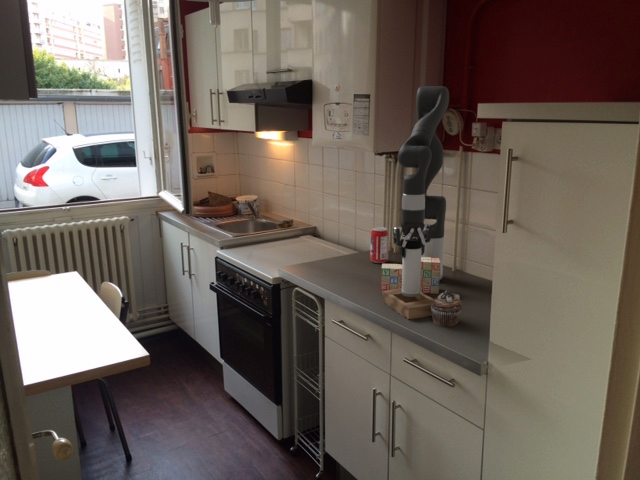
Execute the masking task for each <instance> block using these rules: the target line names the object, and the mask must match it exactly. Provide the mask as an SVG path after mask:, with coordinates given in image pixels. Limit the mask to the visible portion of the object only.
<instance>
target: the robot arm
mask: <svg viewBox="0 0 640 480" xmlns="http://www.w3.org/2000/svg"><path fill="white" fill-rule="evenodd" d="M415 100H416V102H415V103H416V115H417V116H416V117H417V118H416V119H417V122H416V123H415V124H414V126H413V129H412V131H411V134H410V136H409V138H407V140H406V141H405V142H404V143H403V144H402V146H401V147H400V149H399V151H398V154H397V162H398V164H399V165H400V166H401V167H402V168H414V169H417V173H414V174H407V175H405V176H404V177H403V180H402V197H401V218H400V220H401V225H400V226H398V227H397V226H394V227H392V235H393V237H392V238H393V244H394V245H396V246H397V247H398V248H399V251H398V254H399V256H400V257H401V258H405V257H406V247H405V245H406V243H407V242H406V240H408V239H410V238H416V239H418V240H419V239H420V240H422V244H421V247H422V249H421V257H422V258H423V257H431V258H439V260H440V278H439V281H440V280H442V279H443V270H444V268H443V267H444V250H445V249H444V246H445V223H446V215H447V214H446V212H447V199H446V197H445V196H442V195H427V194H428V193H427V192H428V190H429V188H430V185H431V183H432V182H433V180H434V179H435V177H436V176H437V175H438V174H439V172H440V171H441V169H442V167H443V164H444V148H443V144H442V142H441V140H440V139H439V137H438V135H437V134H436V133H435V131H436V129H437V127H438V126H439V124H440V122H441V120H442V119H443V118H444V115H445V113H446V111H447V110H448V107H449V103H450V93H449V89H448V88H447V87H446V86H444V85H443V86H442V85H439V86H436V85H434V86H433V85H432V86H431V85H429V86H428V85H427V86H425V85H424V86H420V87H418V89H417V91H416V99H415ZM425 220H436V221H435V223H433V224H429V223H425ZM403 240H404V241H403Z"/></svg>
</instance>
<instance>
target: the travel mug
mask: <svg viewBox="0 0 640 480" xmlns="http://www.w3.org/2000/svg"><path fill="white" fill-rule="evenodd" d="M403 241H404V240H403ZM406 242H407V243H406V245H405V247H406V257H405V258H402V257H401V258H402V260H401V261H402V295H404V296H406V297H417V296H419V295H420V284H421V249H422V247H421V244H422V240H420V239H419V240H418V239H417V238H416V237H413V238H410V239H408V240H406Z"/></svg>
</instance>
